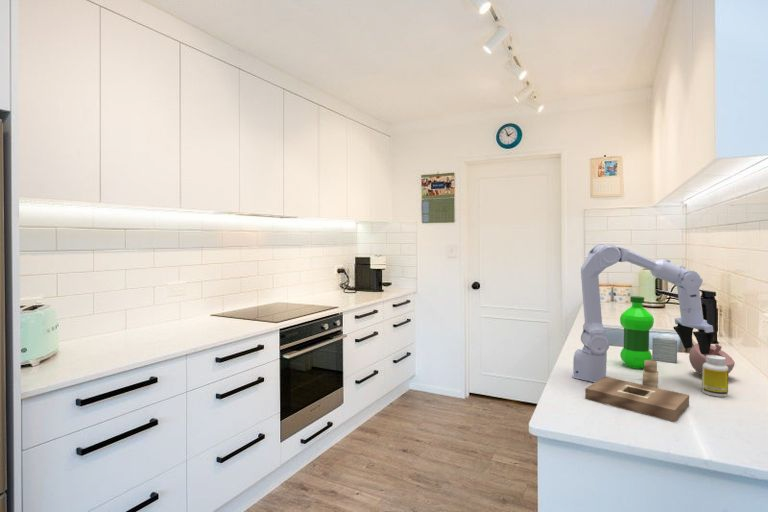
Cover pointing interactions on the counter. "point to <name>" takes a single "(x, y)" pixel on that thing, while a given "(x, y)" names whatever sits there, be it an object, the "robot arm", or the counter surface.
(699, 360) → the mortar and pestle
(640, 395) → the socket board
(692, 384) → the counter surface
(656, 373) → the beech peg
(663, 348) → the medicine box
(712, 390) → the pill bottle
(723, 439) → the counter surface
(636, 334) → the plastic bottle
